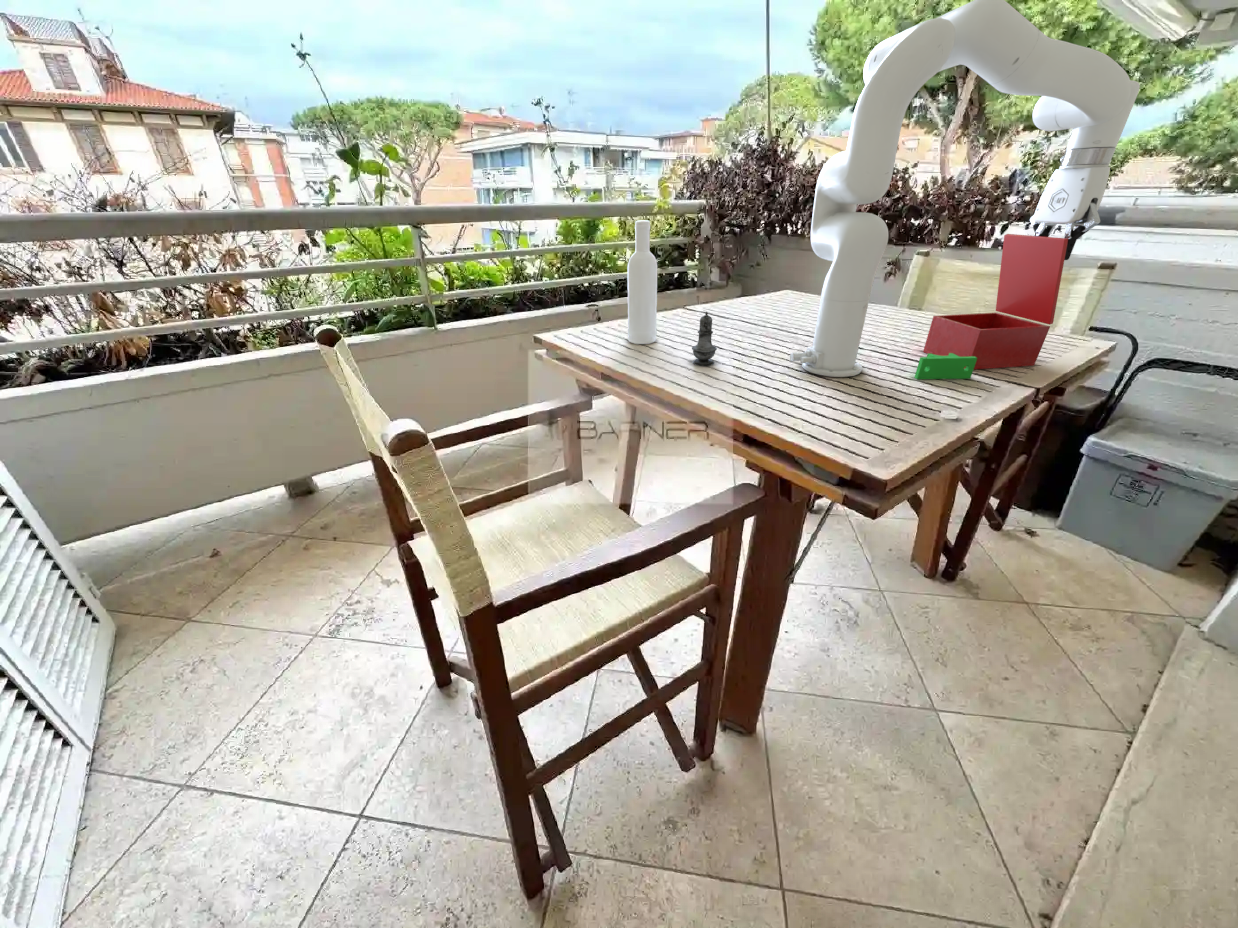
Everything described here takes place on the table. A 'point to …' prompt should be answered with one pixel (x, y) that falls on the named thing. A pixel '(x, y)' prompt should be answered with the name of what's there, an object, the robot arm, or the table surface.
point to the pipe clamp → (945, 367)
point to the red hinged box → (987, 339)
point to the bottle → (642, 288)
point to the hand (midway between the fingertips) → (1048, 257)
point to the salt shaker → (704, 343)
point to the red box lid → (1030, 276)
